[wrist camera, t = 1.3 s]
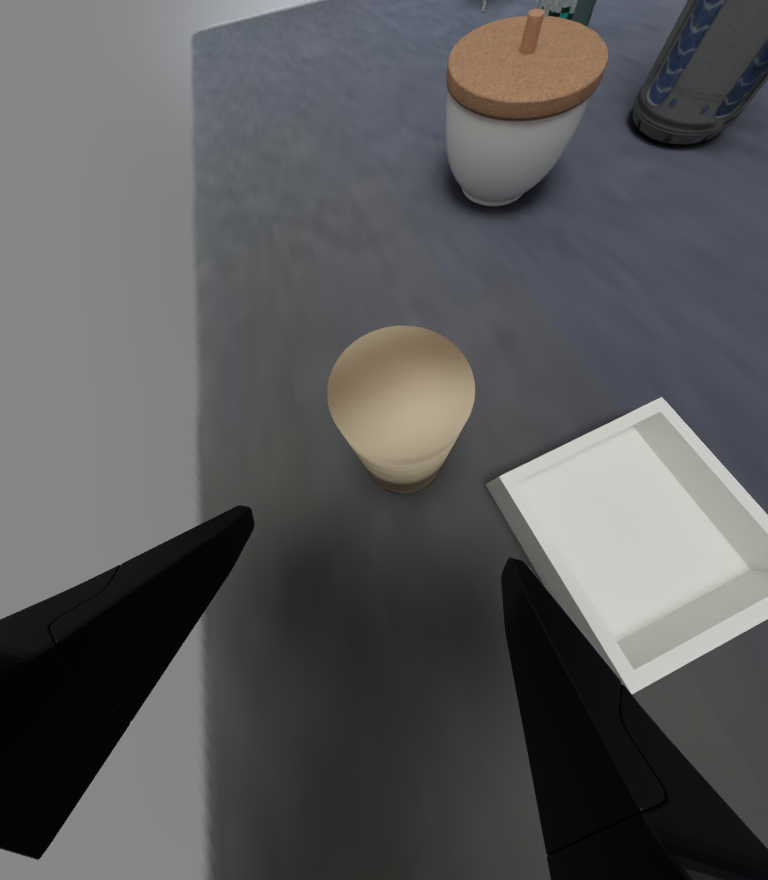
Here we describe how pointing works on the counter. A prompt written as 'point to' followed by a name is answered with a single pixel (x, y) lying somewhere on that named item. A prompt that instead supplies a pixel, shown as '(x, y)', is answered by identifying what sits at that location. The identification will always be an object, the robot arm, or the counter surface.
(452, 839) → the counter surface
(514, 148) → the lidded bowl
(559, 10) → the can
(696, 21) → the beverage bottle
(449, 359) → the canister
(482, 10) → the lollipop
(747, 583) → the tray
